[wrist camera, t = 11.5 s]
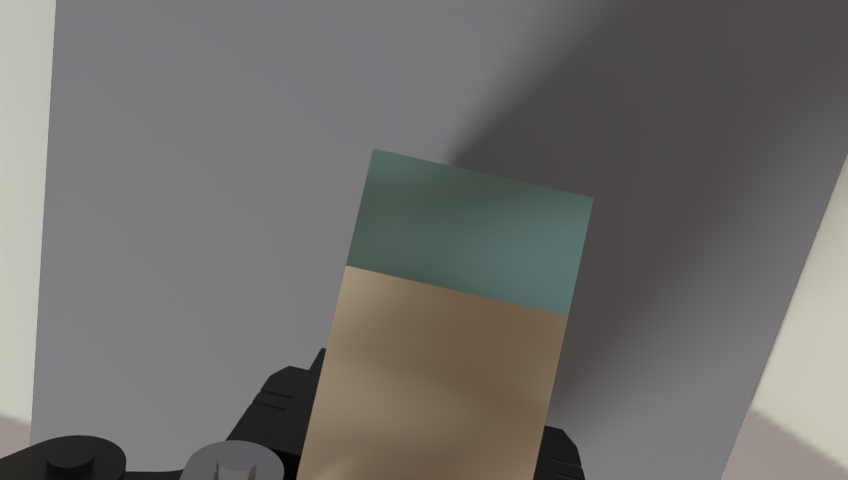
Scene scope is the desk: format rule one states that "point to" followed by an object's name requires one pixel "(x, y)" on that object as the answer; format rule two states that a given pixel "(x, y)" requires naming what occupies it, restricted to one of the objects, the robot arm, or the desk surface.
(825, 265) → the desk surface
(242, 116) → the mat
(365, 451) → the tile
